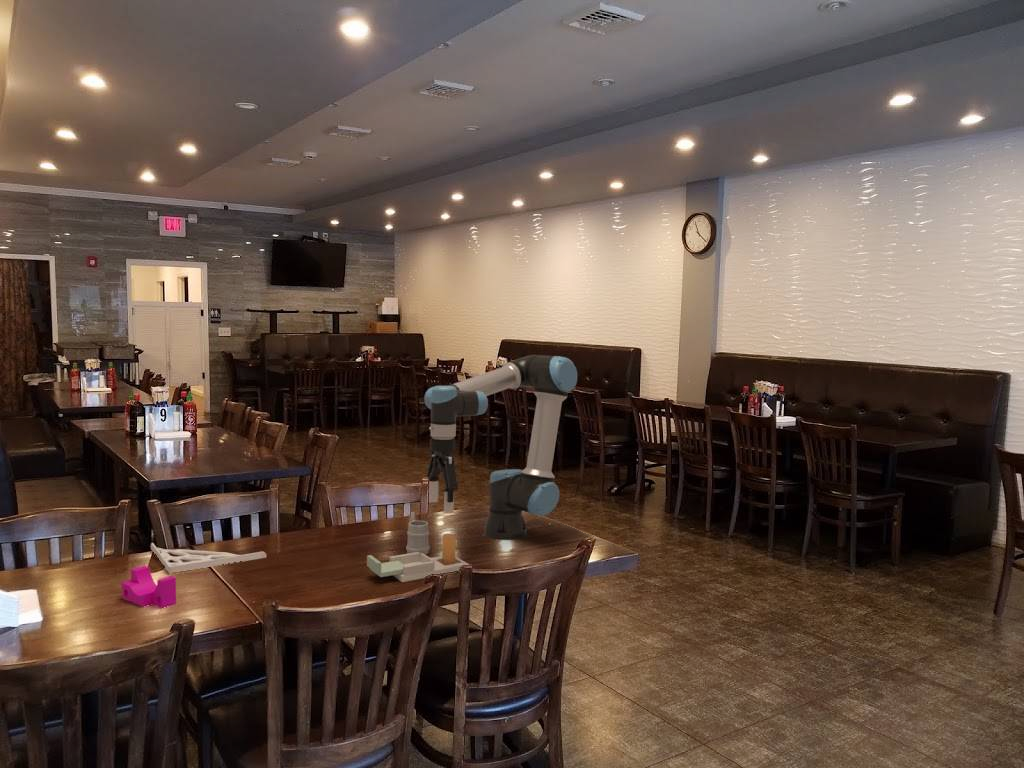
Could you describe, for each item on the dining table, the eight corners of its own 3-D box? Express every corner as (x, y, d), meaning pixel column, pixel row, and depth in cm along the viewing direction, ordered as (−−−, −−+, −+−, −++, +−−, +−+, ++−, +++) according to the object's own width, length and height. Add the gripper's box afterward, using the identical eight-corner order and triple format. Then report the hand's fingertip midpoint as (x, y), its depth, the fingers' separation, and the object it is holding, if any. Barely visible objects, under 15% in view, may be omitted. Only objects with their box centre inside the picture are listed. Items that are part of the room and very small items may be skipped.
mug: (410, 557, 238) (411, 520, 237) (398, 547, 249) (399, 511, 248) (433, 554, 242) (433, 518, 241) (420, 544, 252) (421, 509, 251)
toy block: (122, 599, 199) (121, 571, 199) (144, 592, 205) (144, 565, 204) (153, 612, 191) (152, 584, 190) (176, 605, 196) (175, 577, 195)
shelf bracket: (150, 550, 242) (150, 542, 242) (240, 537, 259) (240, 529, 258) (169, 576, 219) (169, 567, 219) (266, 559, 236) (266, 551, 236)
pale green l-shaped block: (397, 564, 225) (397, 550, 224) (408, 572, 218) (409, 558, 218) (366, 569, 220) (367, 555, 219) (377, 577, 213) (377, 563, 213)
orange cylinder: (451, 564, 233) (452, 533, 232) (457, 568, 229) (458, 536, 229) (439, 566, 231) (440, 534, 230) (445, 570, 227) (446, 538, 226)
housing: (451, 560, 237) (452, 546, 236) (468, 570, 228) (469, 556, 227) (386, 571, 225) (387, 557, 224) (402, 583, 216) (402, 567, 215)
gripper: (417, 431, 234) (416, 498, 236) (445, 444, 212) (443, 518, 214) (440, 431, 238) (438, 497, 239) (470, 443, 215) (467, 516, 217)
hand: (440, 507), depth 227 cm, fingers open, 13 cm apart
